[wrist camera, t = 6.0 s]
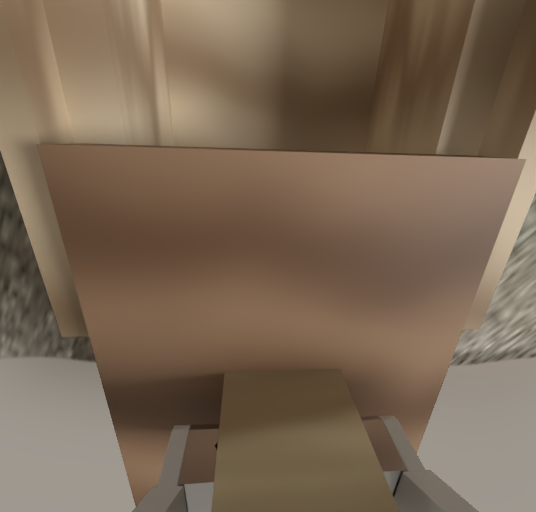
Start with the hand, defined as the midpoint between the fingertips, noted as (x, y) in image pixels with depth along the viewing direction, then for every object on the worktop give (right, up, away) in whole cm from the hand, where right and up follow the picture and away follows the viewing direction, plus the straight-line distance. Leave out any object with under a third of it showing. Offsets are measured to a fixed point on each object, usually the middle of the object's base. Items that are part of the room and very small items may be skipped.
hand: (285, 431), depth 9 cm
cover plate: (0, +1, +3) cm, 3 cm away
